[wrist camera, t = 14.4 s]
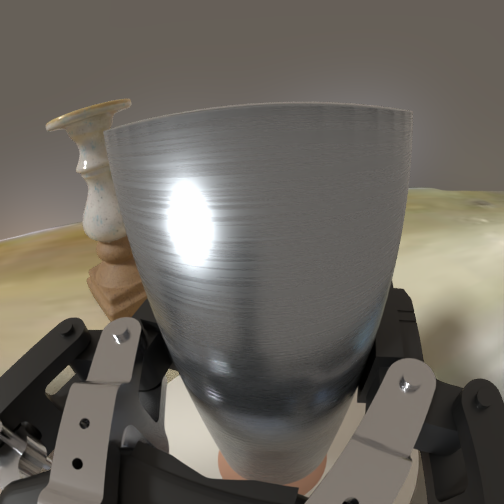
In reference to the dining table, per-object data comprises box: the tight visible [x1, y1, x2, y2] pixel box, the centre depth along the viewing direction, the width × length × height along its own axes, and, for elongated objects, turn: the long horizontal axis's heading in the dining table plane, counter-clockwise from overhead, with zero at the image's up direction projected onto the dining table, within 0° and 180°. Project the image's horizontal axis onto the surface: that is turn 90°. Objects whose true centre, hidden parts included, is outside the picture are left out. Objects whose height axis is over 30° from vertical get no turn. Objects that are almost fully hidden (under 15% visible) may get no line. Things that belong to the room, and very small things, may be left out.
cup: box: [103, 102, 413, 485], centre depth 8 cm, size 6×6×14 cm
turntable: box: [164, 375, 419, 504], centre depth 15 cm, size 20×20×2 cm
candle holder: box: [46, 99, 147, 322], centre depth 30 cm, size 11×11×24 cm
